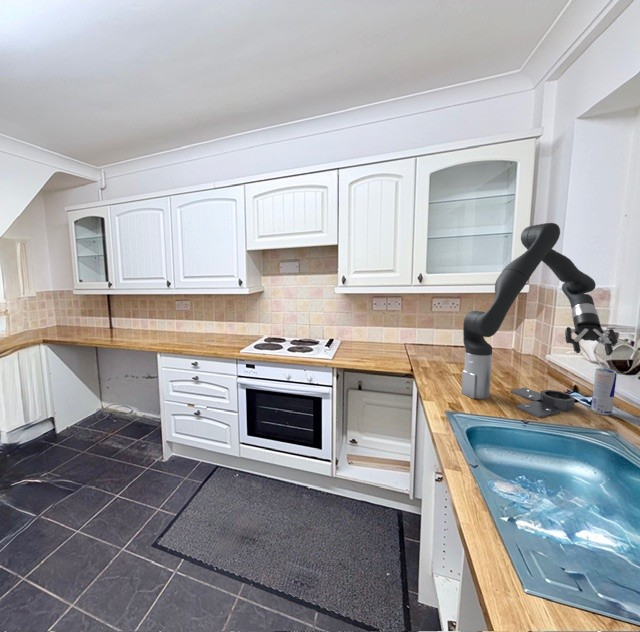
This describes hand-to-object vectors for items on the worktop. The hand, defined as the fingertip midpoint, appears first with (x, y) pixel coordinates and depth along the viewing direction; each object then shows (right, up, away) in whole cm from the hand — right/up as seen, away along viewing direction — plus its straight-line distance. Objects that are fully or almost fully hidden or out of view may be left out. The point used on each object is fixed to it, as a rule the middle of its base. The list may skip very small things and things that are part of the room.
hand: (593, 353), depth 107 cm
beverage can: (-4, -19, -7) cm, 21 cm away
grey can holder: (-21, -18, +1) cm, 28 cm away
